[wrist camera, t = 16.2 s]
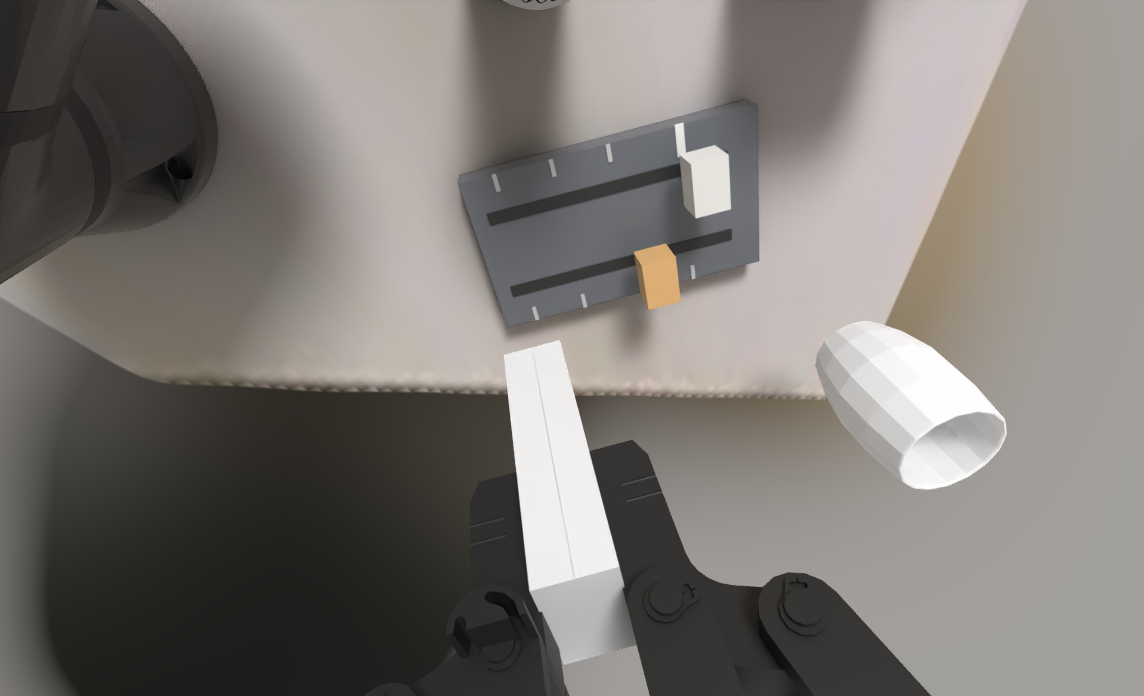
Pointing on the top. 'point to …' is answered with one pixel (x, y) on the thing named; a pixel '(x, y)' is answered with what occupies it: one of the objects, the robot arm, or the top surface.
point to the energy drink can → (536, 3)
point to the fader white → (705, 181)
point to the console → (611, 213)
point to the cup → (908, 405)
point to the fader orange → (657, 276)
